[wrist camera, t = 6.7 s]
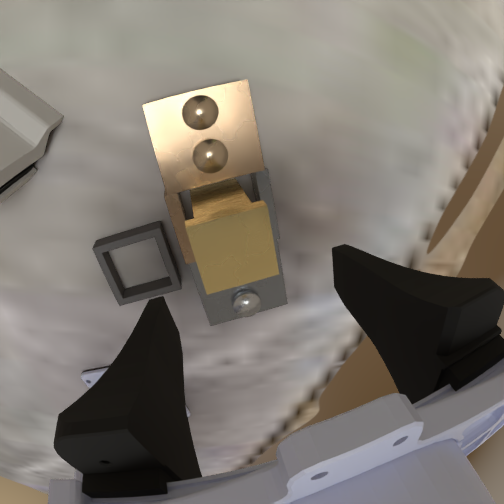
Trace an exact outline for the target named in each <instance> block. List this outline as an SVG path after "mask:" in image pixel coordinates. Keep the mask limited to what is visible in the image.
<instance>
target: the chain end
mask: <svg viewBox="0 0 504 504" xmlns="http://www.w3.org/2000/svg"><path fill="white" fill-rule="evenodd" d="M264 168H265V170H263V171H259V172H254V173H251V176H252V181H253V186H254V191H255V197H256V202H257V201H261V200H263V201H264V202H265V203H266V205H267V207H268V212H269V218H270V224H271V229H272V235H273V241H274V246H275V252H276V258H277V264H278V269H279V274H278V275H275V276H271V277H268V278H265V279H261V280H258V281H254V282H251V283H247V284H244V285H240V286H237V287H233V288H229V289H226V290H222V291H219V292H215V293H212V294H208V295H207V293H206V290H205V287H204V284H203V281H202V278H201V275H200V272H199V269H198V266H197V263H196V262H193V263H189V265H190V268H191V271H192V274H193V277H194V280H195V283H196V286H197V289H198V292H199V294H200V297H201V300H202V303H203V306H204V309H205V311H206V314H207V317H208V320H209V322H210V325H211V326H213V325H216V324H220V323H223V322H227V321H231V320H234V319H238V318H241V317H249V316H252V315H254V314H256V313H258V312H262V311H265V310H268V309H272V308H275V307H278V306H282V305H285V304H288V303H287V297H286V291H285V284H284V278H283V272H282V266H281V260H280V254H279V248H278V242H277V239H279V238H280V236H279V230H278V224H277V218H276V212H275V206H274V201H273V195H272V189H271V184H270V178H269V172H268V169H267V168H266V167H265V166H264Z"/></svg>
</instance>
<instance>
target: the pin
mask: <svg viewBox="0 0 504 504" xmlns="http://www.w3.org/2000/svg"><path fill="white" fill-rule="evenodd" d="M190 195H191V202H192V208H193V215H194V219H190V220H186V221H185V227H186V231H187V234H188V237H189V241H190V244H191V247H192V250H193V253H194V257H195V260H196V263H197V266H198V269H199V272H200V275H201V278H202V281H203V284H204V287H205V290H206V293H207V295H208V294H212V293H215V292H219V291H222V290H226V289H229V288H233V287H237V286H240V285H244V284H247V283H251V282H254V281H258V280H261V279H265V278H268V277H271V276H275V275H278V274H279V269H278V264H277V258H276V252H275V246H274V241H273V235H272V229H271V224H270V218H269V212H268V207H267V205H266V203H265V202H264V201H263V200H261V201H257V202H253V203H251V201H250V200H249V198H248V197H247V195H246V194H245V192H244V191H243V189H242V188H241V186H240V185H239V184H238V182H237V181H236V179H235V178H234V179H230V180H226V181H222V182H218V183H214V184H211V185H207V186H203V187H199V188H196V189H192V190H190Z"/></svg>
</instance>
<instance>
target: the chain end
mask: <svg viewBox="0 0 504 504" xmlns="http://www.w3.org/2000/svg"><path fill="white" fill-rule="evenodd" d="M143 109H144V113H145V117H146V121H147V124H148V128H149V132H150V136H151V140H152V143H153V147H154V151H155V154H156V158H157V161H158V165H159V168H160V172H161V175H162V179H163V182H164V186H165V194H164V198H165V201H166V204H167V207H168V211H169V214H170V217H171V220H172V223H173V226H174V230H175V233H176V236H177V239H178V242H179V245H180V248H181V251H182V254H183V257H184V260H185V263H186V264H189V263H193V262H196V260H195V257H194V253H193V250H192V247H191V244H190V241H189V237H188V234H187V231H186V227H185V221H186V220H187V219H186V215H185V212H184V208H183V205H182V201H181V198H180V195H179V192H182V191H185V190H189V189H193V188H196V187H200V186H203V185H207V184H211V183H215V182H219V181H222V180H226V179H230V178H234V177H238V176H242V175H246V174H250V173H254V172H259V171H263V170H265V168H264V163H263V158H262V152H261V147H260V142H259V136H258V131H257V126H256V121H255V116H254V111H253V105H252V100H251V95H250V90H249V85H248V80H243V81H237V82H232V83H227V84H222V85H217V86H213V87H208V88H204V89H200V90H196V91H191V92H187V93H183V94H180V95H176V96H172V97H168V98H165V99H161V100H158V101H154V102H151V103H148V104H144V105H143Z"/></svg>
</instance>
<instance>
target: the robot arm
mask: <svg viewBox="0 0 504 504" xmlns="http://www.w3.org/2000/svg"><path fill="white" fill-rule="evenodd" d="M332 257H333V273H334V287H335V289H336V291H337V293H338V295H339V297H340V298H341V300H342V302H343V303H344V305H345V306H346V308H347V309H348V310H349V312H350V313H351V314H352V316H353V317H354V318H355V320H356V321H357V322H358V324H359V325H360V326H361V327H362V329H363V330H364V331H365V333H366V334H367V335H368V337H369V338H370V339H371V341H372V342H373V344H374V345H375V346H376V349H377V350H378V352H379V354H380V355H381V357H382V359H383V361H384V363H385V364H386V366H387V368H388V370H389V372H390V374H391V376H392V378H393V380H394V382H395V384H396V386H397V389H398V391H399V393H400V394H398V393H393V394H390V395H386V396H383V397H380V398H378V399H376V400H373V401H371V402H369V403H367V404H364V405H362V406H360V407H358V408H355V409H353V410H350V411H348V412H345V413H343V414H340V415H338V416H335V417H332V418H330V419H327V420H325V421H322V422H319V423H316V424H313V425H310V426H308V427H305V428H303V429H301V430H299V431H297V432H295V433H292V434H290V435H289V436H288V437H287V438H286V439H285V440H283V441H282V442H281V443H280V444H279V445H278V448H277V452H276V456H277V460H273V461H270V462H266V463H263V464H259V465H255V466H252V467H247V468H243V469H239V470H235V471H230V472H226V473H221V474H216V475H211V476H206V477H202V475H201V472H200V468H199V465H198V461H197V457H196V453H195V449H194V445H193V441H192V436H191V432H190V427H189V422H188V417H189V416H190V411H189V409H188V408H187V406H186V405H185V395H184V375H183V353H182V347H181V341H180V335H179V331H178V329H177V327H176V325H175V322H174V320H173V318H172V315H171V313H170V311H169V309H168V306H167V304H166V302H165V299H164V297H163V296H162V297H158V298H154V299H151V300H149V301H148V303H147V305H146V307H145V309H144V311H143V313H142V315H141V317H140V319H139V321H138V322H137V324H136V326H135V328H134V330H133V332H132V334H131V335H130V337H129V339H128V340H127V342H126V344H125V345H124V347H123V349H122V350H121V352H120V353H119V355H118V356H117V357H116V359H115V360H114V361H113V363H112V364H111V366H110V367H108V368H103V369H98V370H93V371H88V372H83V373H82V374H81V378H82V380H83V381H84V382H85V384H86V385H87V386H88V387H89V390H88V391H87V392H86V393H85V394H84V395H83V396H81V397H80V398H79V399H78V400H77V401H76V402H74V403H73V404H72V405H71V406H69V407H68V408H67V409H65V410H64V411H63V412H61V413H60V414H59V416H58V421H57V426H56V432H55V439H54V449H55V450H56V452H57V453H58V455H59V456H60V457H61V458H62V459H64V460H65V461H66V462H67V463H69V464H70V465H71V466H73V467H74V468H75V473H74V479H50V483H49V495H48V504H496V503H495V501H494V500H493V498H492V496H491V495H490V493H489V492H488V490H487V489H486V487H485V485H484V484H483V482H482V481H481V479H480V477H479V476H478V474H477V473H476V471H475V470H474V468H473V467H472V465H471V464H470V462H469V461H468V459H467V457H466V456H467V455H468V454H470V453H471V452H472V451H473V450H475V449H476V448H477V447H478V446H480V445H481V444H482V443H483V442H485V441H486V440H487V439H488V438H489V437H491V435H493V434H494V433H495V432H496V431H497V430H499V429H500V428H501V427H502V426H503V425H504V339H503V338H502V337H501V336H500V335H499V334H501V329H500V328H499V327H498V326H497V322H498V319H499V317H500V314H501V311H502V308H503V305H504V290H503V289H502V288H501V287H500V286H498V285H497V284H496V283H495V282H494V281H492V280H491V279H490V278H458V277H448V276H441V275H435V274H430V273H425V272H421V271H417V270H413V269H410V268H406V267H403V266H400V265H397V264H394V263H392V262H389V261H386V260H384V259H381V258H379V257H376V256H374V255H371V254H369V253H366V252H364V251H362V250H359V249H357V248H354V247H352V246H349V245H346V244H343V245H340V246H337V247H333V248H332Z"/></svg>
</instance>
